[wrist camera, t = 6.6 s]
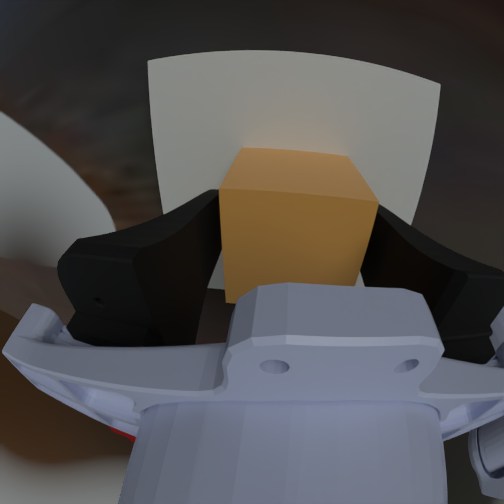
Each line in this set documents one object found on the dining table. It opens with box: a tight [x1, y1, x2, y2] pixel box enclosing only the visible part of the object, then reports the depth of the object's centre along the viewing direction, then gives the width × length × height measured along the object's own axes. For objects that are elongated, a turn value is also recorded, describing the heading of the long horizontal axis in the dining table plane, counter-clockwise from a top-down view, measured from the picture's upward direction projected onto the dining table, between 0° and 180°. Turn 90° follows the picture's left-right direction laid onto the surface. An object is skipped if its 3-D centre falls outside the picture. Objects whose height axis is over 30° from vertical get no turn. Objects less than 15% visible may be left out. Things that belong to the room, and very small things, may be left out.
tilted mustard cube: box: [219, 147, 379, 304], centre depth 11 cm, size 5×5×5 cm
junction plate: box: [148, 50, 441, 289], centre depth 12 cm, size 14×14×4 cm
